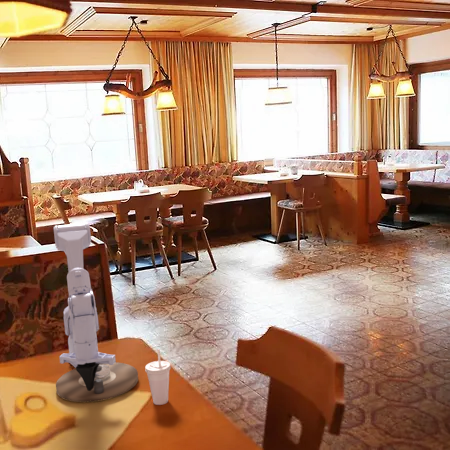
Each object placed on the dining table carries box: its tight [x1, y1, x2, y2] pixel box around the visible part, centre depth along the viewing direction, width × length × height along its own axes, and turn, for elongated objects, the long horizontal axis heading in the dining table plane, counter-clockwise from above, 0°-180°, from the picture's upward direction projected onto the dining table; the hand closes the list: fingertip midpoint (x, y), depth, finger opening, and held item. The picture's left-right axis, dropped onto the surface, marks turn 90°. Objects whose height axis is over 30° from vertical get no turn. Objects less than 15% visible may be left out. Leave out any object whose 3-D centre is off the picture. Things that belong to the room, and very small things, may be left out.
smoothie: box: [144, 348, 171, 406], centre depth 149 cm, size 6×6×14 cm
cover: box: [94, 365, 110, 382], centre depth 161 cm, size 7×7×3 cm
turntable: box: [55, 362, 139, 403], centre depth 161 cm, size 22×22×4 cm
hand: (90, 389), depth 153 cm, fingers closed
